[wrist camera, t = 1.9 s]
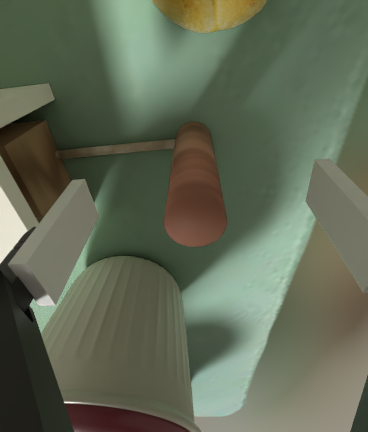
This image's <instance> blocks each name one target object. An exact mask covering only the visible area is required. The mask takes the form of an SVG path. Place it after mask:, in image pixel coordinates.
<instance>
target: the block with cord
mask: <svg viewBox="0 0 368 432" xmlns="http://www.w3.org/2000/svg"><path fill="white" fill-rule="evenodd" d="M173 148H174V153H173V160H172V167H171V174H170V181H169V188H168V195H167V202H166V210H165V217H164V227H165V230H166V232H167V234H168V235H169V236H170V237H171V238H172V239H173V240H174V241H176V242H178V243H180V244H182V245H185V246H190V247H200V246H205V245H208V244H211V243H213V242H215V241H216V240H218V239H219V238H220V237H221V236H222V234H223V233H224V231H225V229H226V226H227V217H226V212H225V207H224V201H223V196H222V191H221V185H220V180H219V175H218V169H217V164H216V159H215V153H214V148H213V143H212V137H211V133H210V131H209V129H208V128H207V127H206V126H205V125H203V124H202V123H199V122H189V123H186V124H184V125H183V126H181V127H180V129H179V130H178V132H177V134H176V138H175V140H174V139H168V140H158V141H148V142H137V143H127V144H117V145H106V146H96V147H86V148H75V149H65V150H58V149H57V146H56V144H55V142H54V139H53V137H52V134H51V132H50V130H49V127H48V125H47V122H46V120H41V121H32V122H23V123H13V124H7V125H5V126H3V127H1V128H0V156H1V157H2V159H3V161H4V163H5V164H6V166H7V168H8V170H9V171H10V173H11V175H12V177H13V179H14V180H15V182H16V184H17V186H18V187H19V189H20V191H21V193H22V194H23V196H24V198H25V200H26V201H27V203H28V205H29V207H30V209H31V210H32V212H33V214H34V216H35V217H36V218H43V217H44V216H45V214H46V213H47V212H48V211H49V209H50V208H51V207H52V205H53V204H54V203H55V202H56V200H57V199H58V198H59V197H60V195H61V194H62V193H63V191H64V190H65V189H66V188H67V186H68V185H69V184H70V182H71V180H70V177H69V175H68V173H67V170H66V168H65V165H64V163H63V161H62V159H67V158H77V157H88V156H99V155H109V154H120V153H130V152H141V151H152V150H162V149H173Z"/></svg>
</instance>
